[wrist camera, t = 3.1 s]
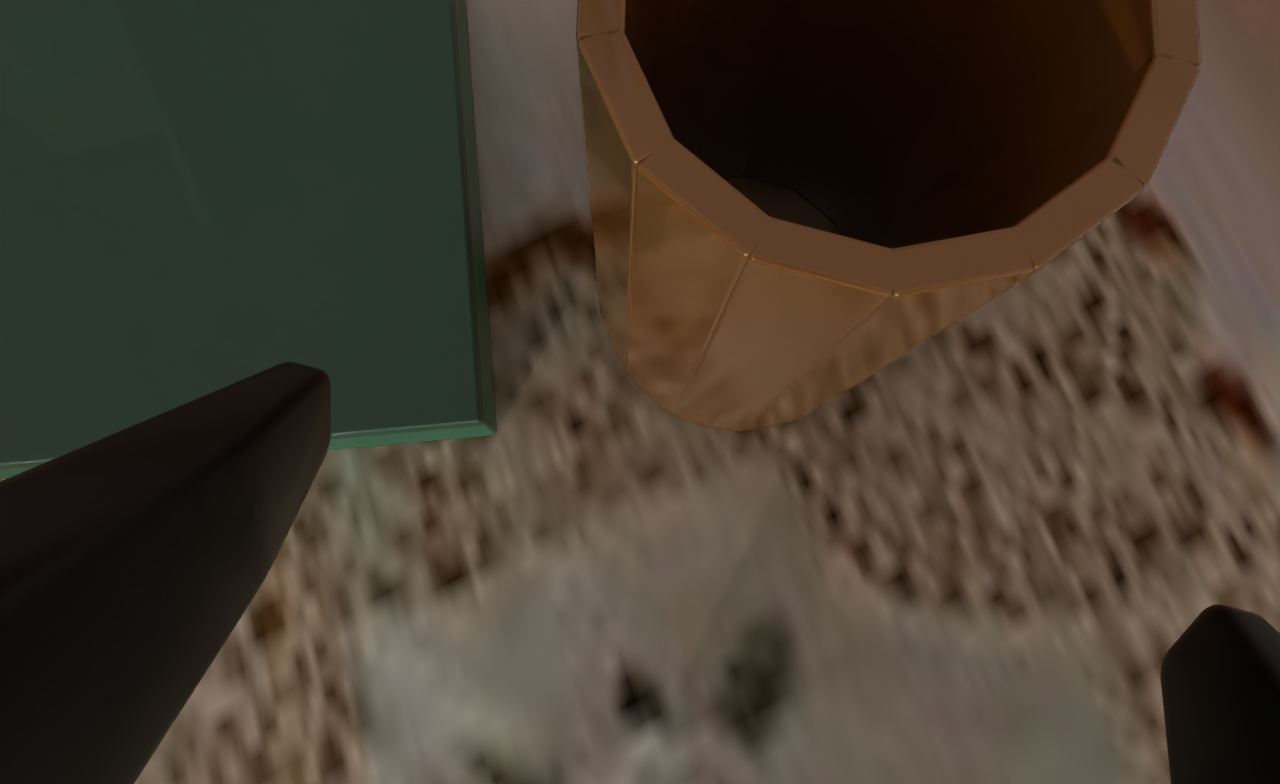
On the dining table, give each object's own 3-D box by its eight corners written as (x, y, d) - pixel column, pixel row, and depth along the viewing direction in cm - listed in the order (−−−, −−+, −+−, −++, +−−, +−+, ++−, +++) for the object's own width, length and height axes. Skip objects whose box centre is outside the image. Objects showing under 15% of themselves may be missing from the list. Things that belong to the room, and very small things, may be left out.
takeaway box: (506, 442, 21) (481, 421, 17) (1, 489, 21) (-146, 479, 17) (473, -12, 23) (442, -127, 19) (5, 22, 22) (-127, -88, 18)
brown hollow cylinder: (757, 489, 21) (952, 428, 9) (543, 308, 22) (442, 7, 9) (927, 285, 22) (1326, -35, 10) (717, 115, 22) (838, -397, 10)
